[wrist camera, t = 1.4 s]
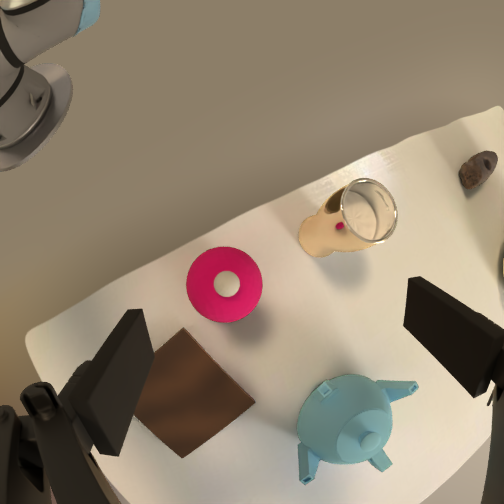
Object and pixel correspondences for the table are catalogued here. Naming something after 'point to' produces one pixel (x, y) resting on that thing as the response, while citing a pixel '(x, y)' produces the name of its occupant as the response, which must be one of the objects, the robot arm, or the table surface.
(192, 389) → the walnut board
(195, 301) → the pepper mill
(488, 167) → the perforated stone tool
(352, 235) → the beer glass
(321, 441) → the teapot
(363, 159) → the table surface
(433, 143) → the table surface
